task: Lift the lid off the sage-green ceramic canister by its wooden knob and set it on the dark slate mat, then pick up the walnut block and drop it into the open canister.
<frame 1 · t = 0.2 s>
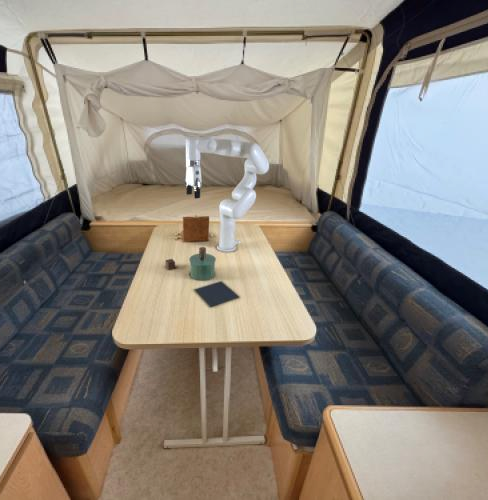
hand: (193, 196, 145), 36 cm above the table, tool pointing down, fingers open, 9 cm apart
game set: (194, 237, 187), on the table
canister: (202, 274, 141), on the table
lid: (202, 259, 137), point 8 cm above the table, touching canister
block: (170, 267, 147), on the table
mat: (216, 293, 125), on the table
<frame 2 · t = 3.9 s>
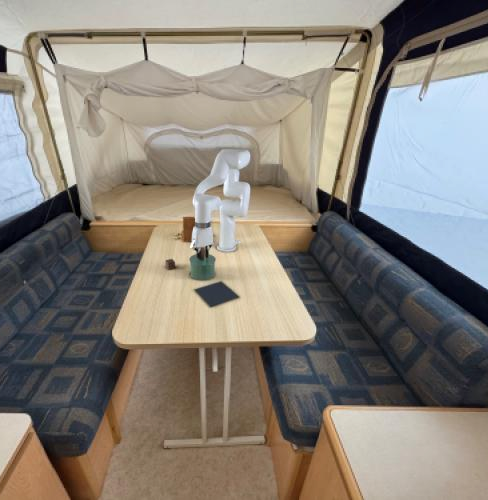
hand: (202, 257, 137), 10 cm above the table, tool pointing down, fingers closed on lid, 3 cm apart
lid: (202, 259, 137), point 9 cm above the table, touching canister, gripper
everything else where it was.
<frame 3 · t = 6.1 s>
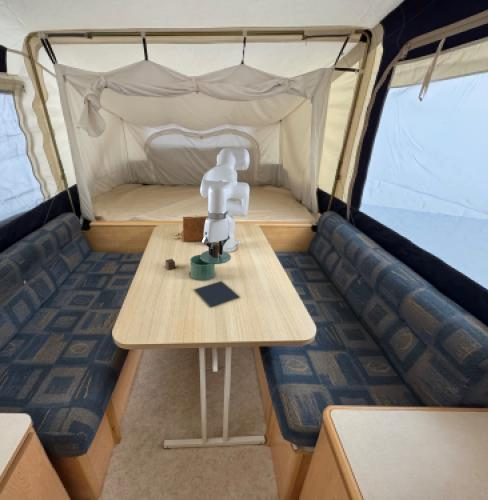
hand: (215, 254, 118), 19 cm above the table, tool pointing down, fingers closed on lid, 3 cm apart
lid: (215, 257, 119), point 18 cm above the table, touching gripper
everything else where it was.
when the fingers open (2 cm above the table, at t = 8.5 s): lid stays where it is, resting on mat.
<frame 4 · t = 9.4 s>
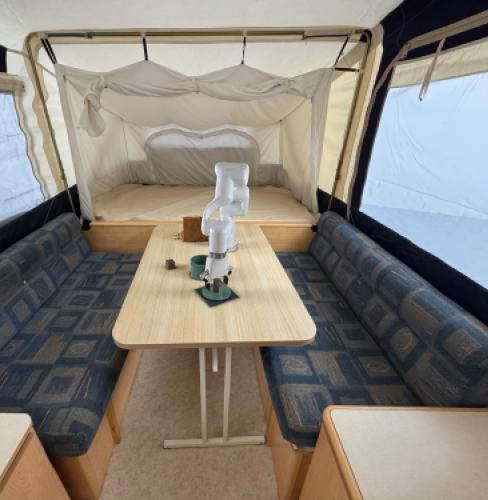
hand: (216, 286, 123), 4 cm above the table, tool pointing down, fingers open, 9 cm apart
lid: (216, 291, 124), point 1 cm above the table, touching mat
everything else where it was.
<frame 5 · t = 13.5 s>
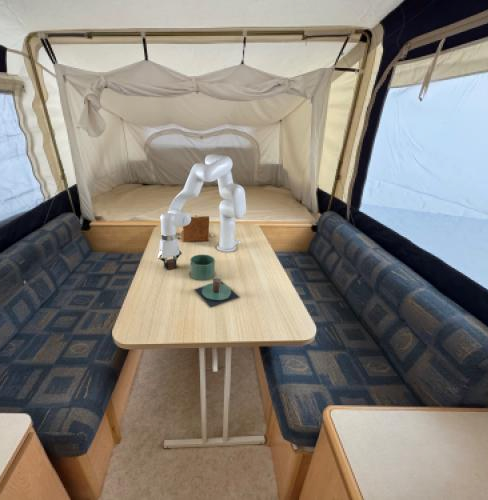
hand: (170, 266, 147), 0 cm above the table, tool pointing down, fingers closed on block, 4 cm apart
block: (170, 267, 147), on the table, touching gripper
everything else where it was.
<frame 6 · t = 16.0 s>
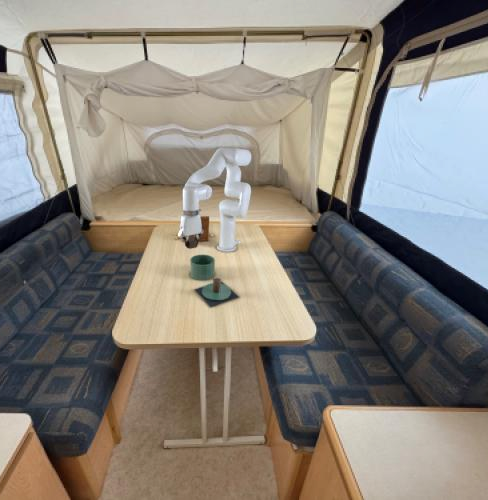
hand: (191, 246, 137), 15 cm above the table, tool pointing down, fingers closed on block, 4 cm apart
block: (191, 246, 137), point 15 cm above the table, touching gripper
everything else where it was.
when the fingers open (9 cm above the table, at t = 18.3 s): block drops 8 cm, resting on canister.
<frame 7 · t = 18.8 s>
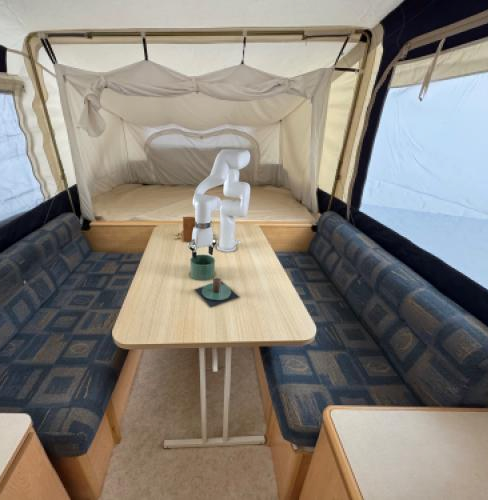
hand: (202, 256, 137), 11 cm above the table, tool pointing down, fingers open, 9 cm apart
block: (202, 273, 141), resting on canister
everything else where it was.
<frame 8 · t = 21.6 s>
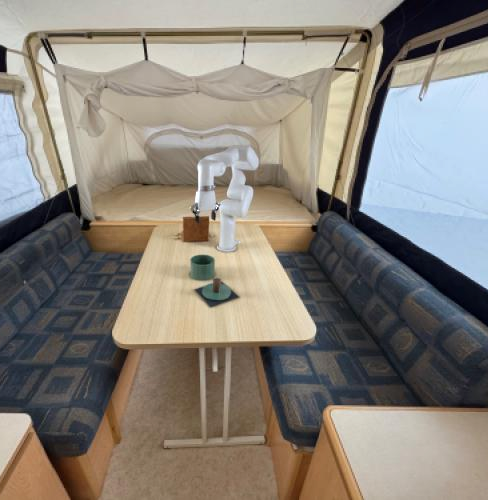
hand: (205, 221, 139), 26 cm above the table, tool pointing down, fingers open, 9 cm apart
nothing on the table moved.
at the end: lid inside the target area on the mat (0.0 cm from its centre), point 1.0 cm above the mat's base; block inside the target area in the canister (0.0 cm from its centre), point 0.5 cm above the canister's base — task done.
